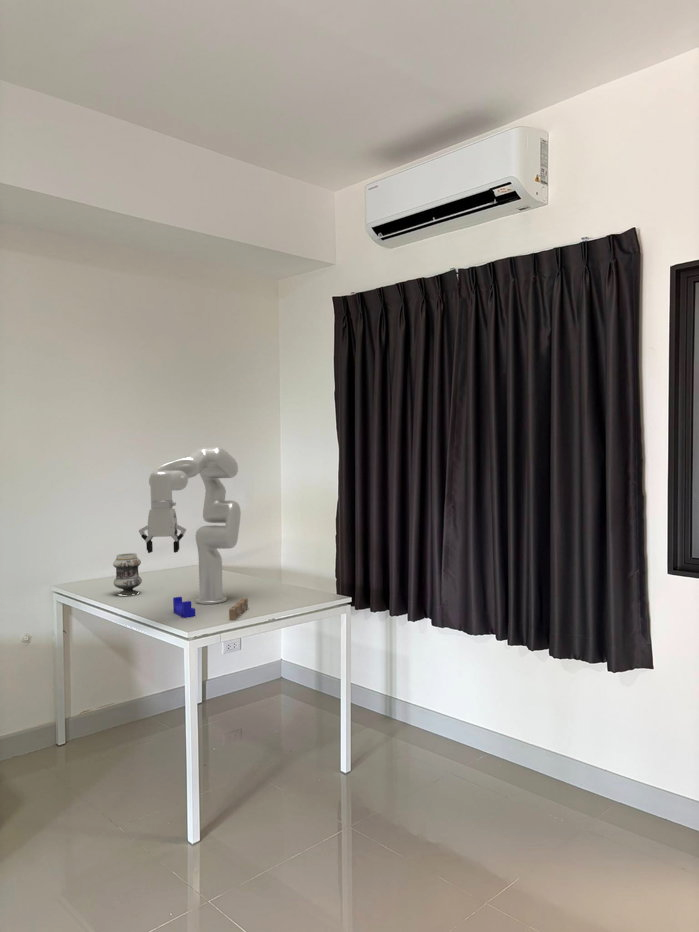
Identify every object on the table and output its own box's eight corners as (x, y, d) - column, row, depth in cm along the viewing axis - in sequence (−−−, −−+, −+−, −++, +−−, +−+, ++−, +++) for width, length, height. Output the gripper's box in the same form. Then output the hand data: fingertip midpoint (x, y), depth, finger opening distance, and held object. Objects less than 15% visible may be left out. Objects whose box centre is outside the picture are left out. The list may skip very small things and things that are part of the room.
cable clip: (195, 616, 264) (195, 601, 264) (183, 618, 261) (183, 602, 261) (184, 611, 274) (184, 596, 274) (173, 612, 271) (173, 597, 271)
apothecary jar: (129, 590, 320) (128, 551, 320) (147, 593, 313) (146, 553, 313) (107, 595, 310) (106, 555, 309) (126, 598, 303) (125, 556, 303)
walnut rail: (242, 608, 276) (242, 598, 276) (247, 608, 276) (247, 598, 276) (229, 620, 256) (229, 609, 256) (234, 620, 256) (234, 609, 256)
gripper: (188, 504, 258) (189, 550, 258) (142, 505, 259) (143, 551, 259) (181, 505, 250) (183, 553, 251) (134, 506, 251) (136, 554, 252)
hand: (163, 552), depth 255 cm, fingers open, 9 cm apart
